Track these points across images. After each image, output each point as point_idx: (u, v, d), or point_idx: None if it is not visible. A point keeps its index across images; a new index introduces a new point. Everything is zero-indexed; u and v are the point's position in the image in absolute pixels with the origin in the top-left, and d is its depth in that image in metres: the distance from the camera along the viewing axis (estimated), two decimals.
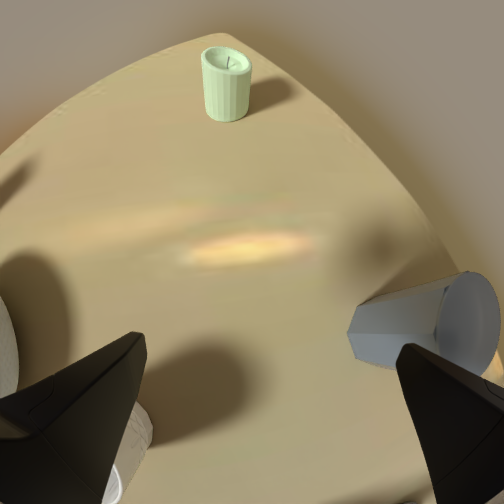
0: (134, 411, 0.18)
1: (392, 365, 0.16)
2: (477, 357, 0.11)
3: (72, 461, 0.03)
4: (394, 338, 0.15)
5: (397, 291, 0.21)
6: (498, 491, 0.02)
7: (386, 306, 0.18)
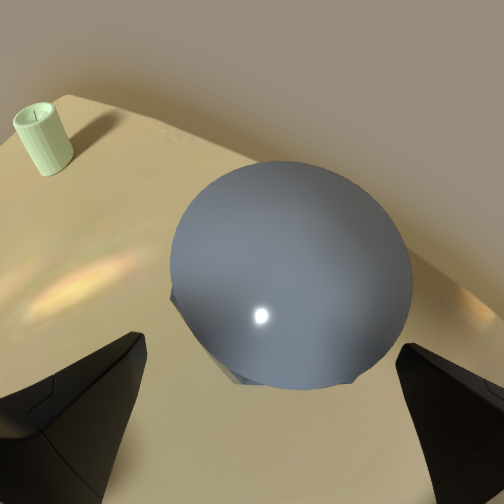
0: None
1: None
2: (349, 317, 0.06)
3: (72, 461, 0.03)
4: None
5: None
6: (498, 491, 0.02)
7: None
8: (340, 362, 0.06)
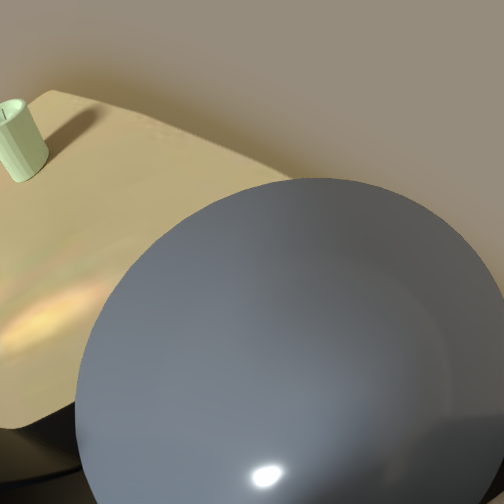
0: None
1: None
2: None
3: None
4: None
5: None
6: None
7: None
8: None
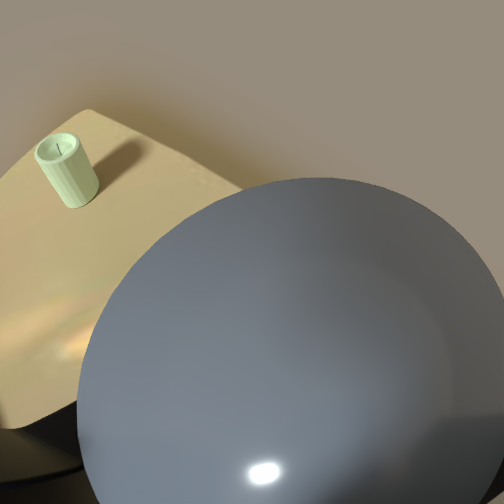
0: None
1: None
2: None
3: None
4: None
5: None
6: None
7: None
8: None
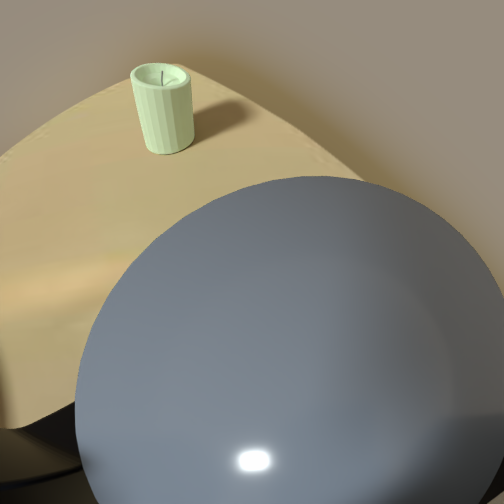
0: None
1: None
2: None
3: None
4: None
5: None
6: None
7: None
8: None
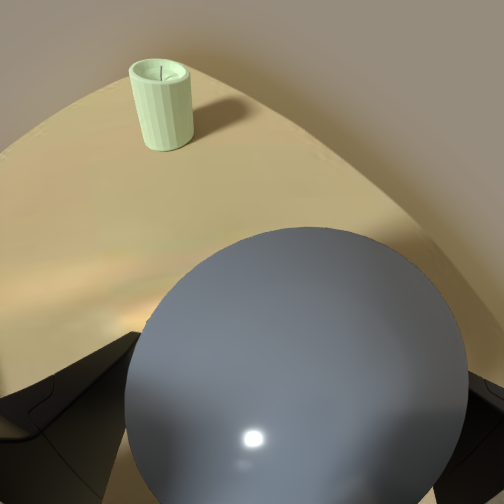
0: None
1: None
2: (385, 479, 0.03)
3: (72, 461, 0.03)
4: None
5: None
6: (498, 491, 0.02)
7: None
8: None
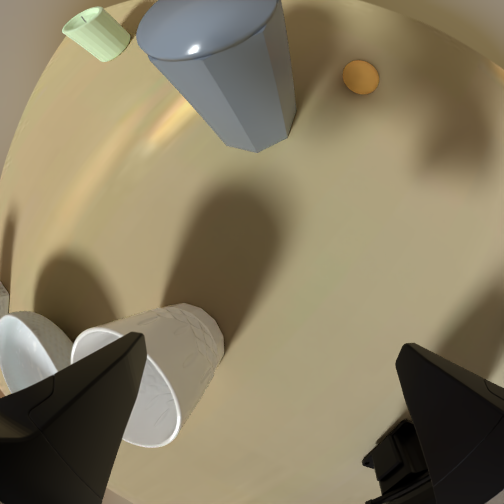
0: (181, 309, 0.20)
1: (235, 116, 0.14)
2: (238, 10, 0.08)
3: (72, 461, 0.03)
4: (192, 100, 0.13)
5: None
6: (498, 491, 0.02)
7: None
8: (244, 24, 0.08)
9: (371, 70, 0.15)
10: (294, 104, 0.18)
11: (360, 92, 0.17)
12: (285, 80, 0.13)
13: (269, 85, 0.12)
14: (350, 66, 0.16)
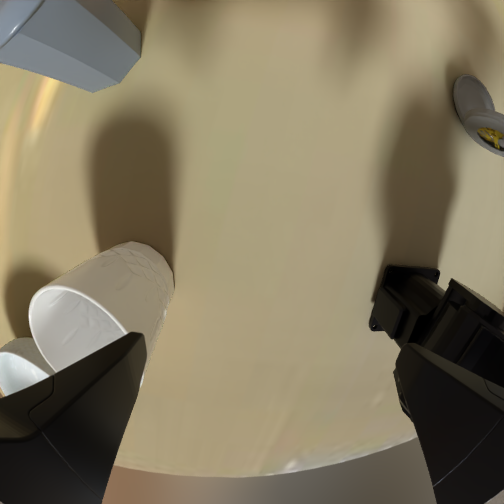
0: (111, 249, 0.18)
1: (75, 59, 0.10)
2: None
3: (72, 461, 0.03)
4: (36, 69, 0.09)
5: None
6: (498, 491, 0.02)
7: None
8: None
9: None
10: (134, 27, 0.13)
11: None
12: (107, 11, 0.09)
13: (89, 20, 0.08)
14: None
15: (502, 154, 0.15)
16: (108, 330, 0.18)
